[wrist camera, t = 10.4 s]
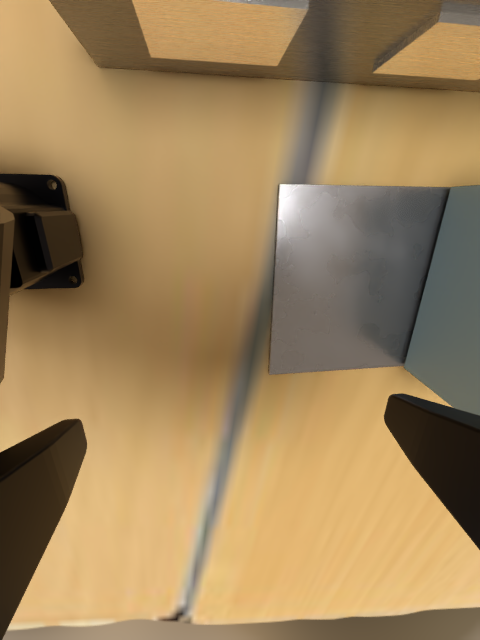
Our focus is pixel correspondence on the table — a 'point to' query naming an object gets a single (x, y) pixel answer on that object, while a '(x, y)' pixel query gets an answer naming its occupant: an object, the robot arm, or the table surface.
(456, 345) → the pale blue box
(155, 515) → the table surface
